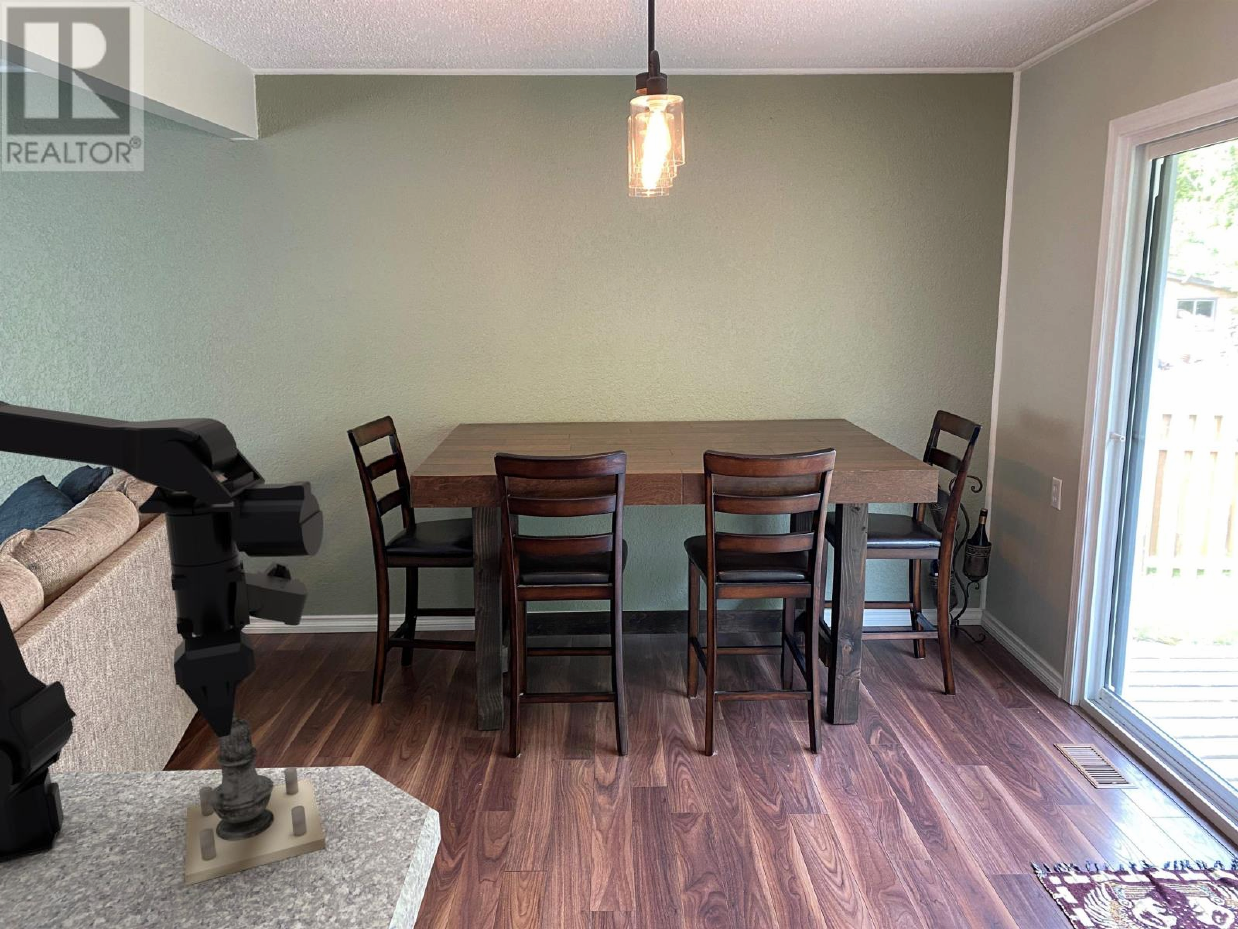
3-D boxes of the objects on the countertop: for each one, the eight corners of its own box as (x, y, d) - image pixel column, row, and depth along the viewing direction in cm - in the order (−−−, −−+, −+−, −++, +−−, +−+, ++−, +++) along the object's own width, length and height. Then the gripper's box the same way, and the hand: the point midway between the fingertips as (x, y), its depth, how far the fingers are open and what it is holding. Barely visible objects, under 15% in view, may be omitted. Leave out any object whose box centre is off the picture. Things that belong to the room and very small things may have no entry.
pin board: (186, 885, 79) (181, 850, 78) (187, 816, 90) (183, 785, 89) (325, 847, 84) (322, 814, 83) (311, 786, 95) (308, 756, 94)
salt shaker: (254, 845, 83) (240, 728, 81) (199, 839, 84) (183, 723, 82) (289, 809, 89) (276, 699, 86) (236, 804, 90) (223, 695, 87)
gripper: (308, 572, 76) (323, 738, 79) (288, 523, 92) (301, 662, 95) (164, 592, 71) (186, 768, 74) (170, 537, 88) (187, 683, 91)
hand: (222, 714), depth 84 cm, fingers open, 9 cm apart
